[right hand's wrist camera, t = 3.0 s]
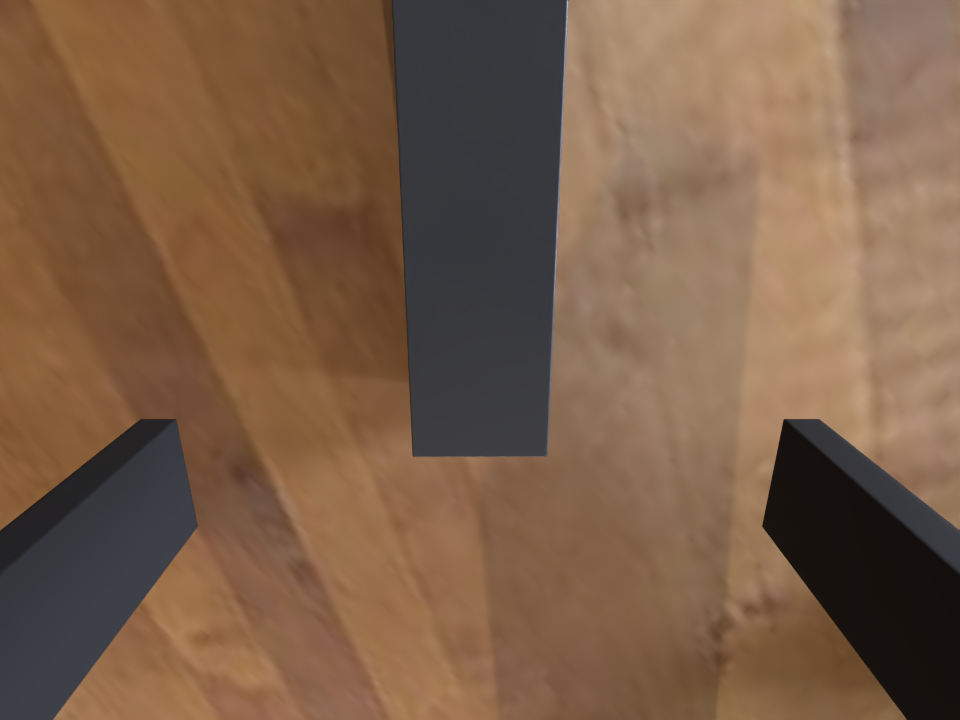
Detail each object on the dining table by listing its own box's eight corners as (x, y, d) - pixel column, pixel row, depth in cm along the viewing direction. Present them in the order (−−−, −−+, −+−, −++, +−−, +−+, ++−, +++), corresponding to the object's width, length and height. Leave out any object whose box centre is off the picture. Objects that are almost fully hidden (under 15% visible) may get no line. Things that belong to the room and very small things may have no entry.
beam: (398, -524, 18) (349, -927, 11) (561, -523, 18) (611, -929, 11) (428, 384, 28) (412, 457, 21) (531, 384, 28) (547, 457, 21)
